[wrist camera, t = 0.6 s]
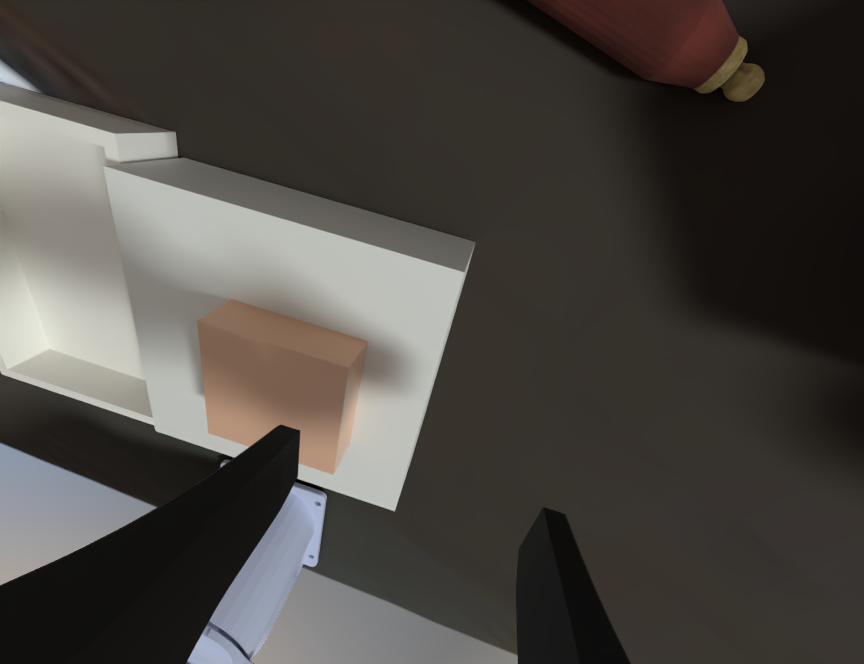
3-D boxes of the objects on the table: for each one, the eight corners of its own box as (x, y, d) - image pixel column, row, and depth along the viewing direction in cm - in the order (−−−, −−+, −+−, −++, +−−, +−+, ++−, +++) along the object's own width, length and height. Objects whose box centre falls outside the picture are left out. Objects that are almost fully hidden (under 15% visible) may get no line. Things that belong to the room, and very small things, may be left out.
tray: (203, 398, 25) (167, 429, 23) (53, 349, 26) (1, 374, 23) (175, 132, 17) (114, 133, 15) (-42, 70, 18) (-136, 61, 15)
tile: (350, 442, 19) (333, 474, 17) (236, 405, 19) (208, 433, 17) (367, 341, 16) (348, 368, 14) (231, 299, 16) (196, 320, 14)
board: (412, 455, 24) (394, 511, 21) (206, 388, 25) (155, 430, 21) (475, 242, 17) (464, 272, 13) (184, 157, 18) (103, 166, 14)
